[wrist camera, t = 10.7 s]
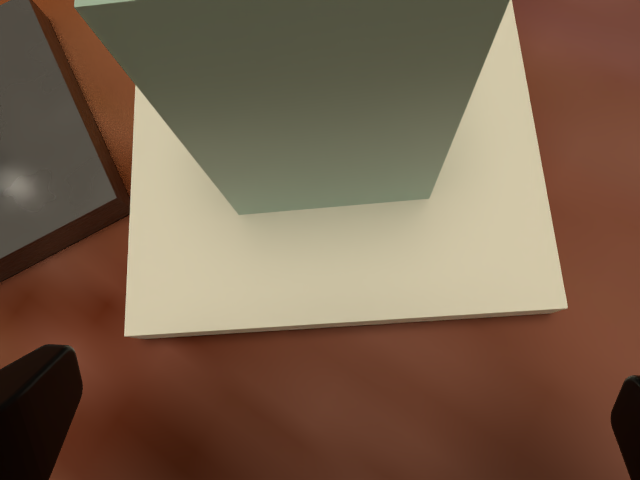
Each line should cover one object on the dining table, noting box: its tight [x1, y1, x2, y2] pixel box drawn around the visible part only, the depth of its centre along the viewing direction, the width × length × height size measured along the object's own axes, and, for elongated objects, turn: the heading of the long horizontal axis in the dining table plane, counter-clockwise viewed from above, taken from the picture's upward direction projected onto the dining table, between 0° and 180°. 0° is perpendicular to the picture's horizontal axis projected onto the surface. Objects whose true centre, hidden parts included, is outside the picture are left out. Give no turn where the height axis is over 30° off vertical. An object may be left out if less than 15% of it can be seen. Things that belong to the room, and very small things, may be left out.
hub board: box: [124, 0, 568, 339], centre depth 16 cm, size 14×14×5 cm
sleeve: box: [74, 0, 510, 215], centre depth 13 cm, size 6×6×10 cm
